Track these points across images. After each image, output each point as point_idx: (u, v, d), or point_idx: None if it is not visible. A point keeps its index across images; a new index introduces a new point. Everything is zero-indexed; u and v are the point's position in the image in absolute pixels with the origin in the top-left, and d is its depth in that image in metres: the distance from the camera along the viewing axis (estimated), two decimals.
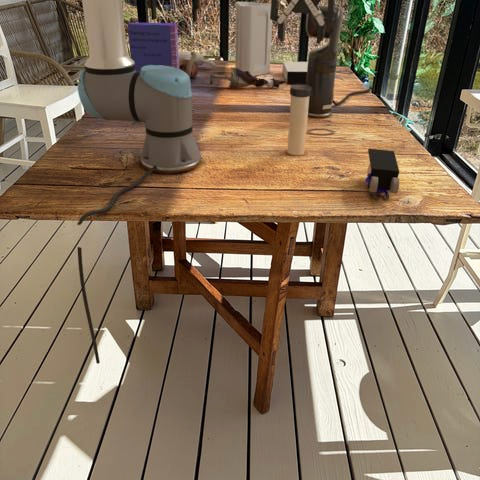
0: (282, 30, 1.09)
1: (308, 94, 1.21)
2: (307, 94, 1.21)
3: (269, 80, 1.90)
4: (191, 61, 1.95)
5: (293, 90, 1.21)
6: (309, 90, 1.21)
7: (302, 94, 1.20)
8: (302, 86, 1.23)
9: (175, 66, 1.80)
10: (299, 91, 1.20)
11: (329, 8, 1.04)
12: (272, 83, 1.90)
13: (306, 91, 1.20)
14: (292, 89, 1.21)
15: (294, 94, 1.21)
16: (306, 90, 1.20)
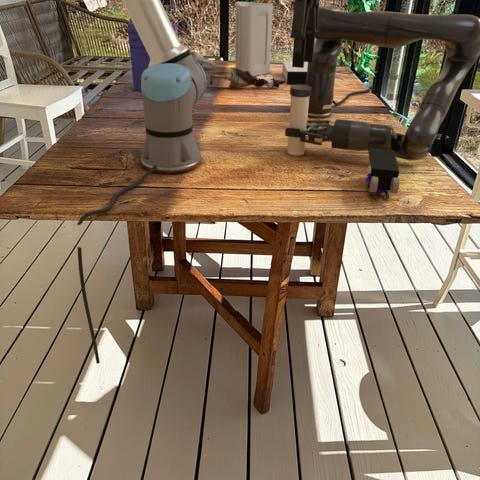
0: None
1: (308, 94, 1.21)
2: (307, 94, 1.21)
3: (269, 80, 1.90)
4: None
5: (293, 90, 1.21)
6: (309, 90, 1.21)
7: (302, 94, 1.20)
8: (302, 86, 1.23)
9: None
10: (299, 91, 1.20)
11: None
12: (272, 83, 1.90)
13: (306, 91, 1.20)
14: (292, 89, 1.21)
15: (294, 94, 1.21)
16: (306, 90, 1.20)
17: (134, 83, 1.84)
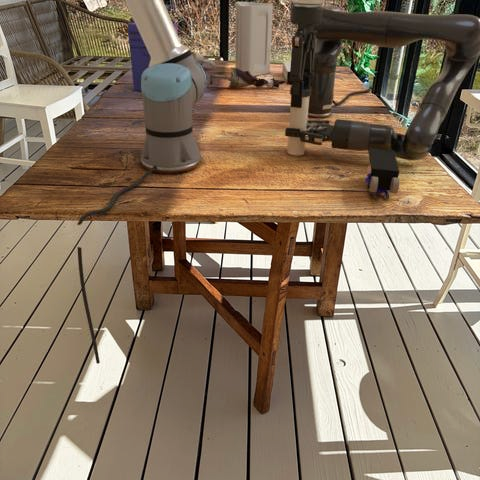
0: None
1: (308, 94, 1.21)
2: (307, 94, 1.21)
3: (269, 80, 1.90)
4: None
5: None
6: (309, 90, 1.21)
7: None
8: None
9: None
10: None
11: None
12: (272, 83, 1.90)
13: (306, 91, 1.20)
14: None
15: None
16: (306, 90, 1.20)
17: (134, 83, 1.84)
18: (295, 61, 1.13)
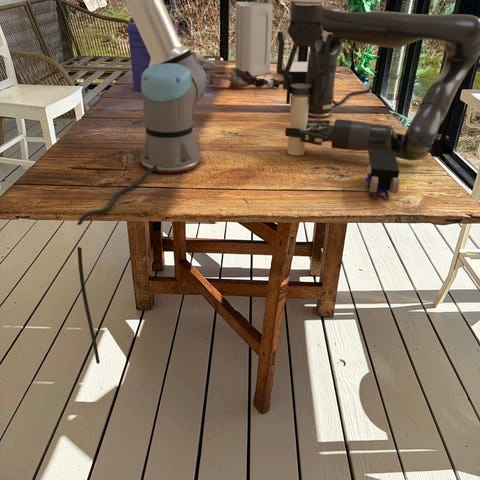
0: None
1: None
2: None
3: (269, 80, 1.90)
4: None
5: (310, 89, 1.21)
6: None
7: None
8: (297, 85, 1.22)
9: None
10: None
11: None
12: (272, 83, 1.90)
13: None
14: (309, 89, 1.20)
15: (310, 92, 1.21)
16: None
17: (134, 83, 1.84)
18: (328, 56, 1.17)
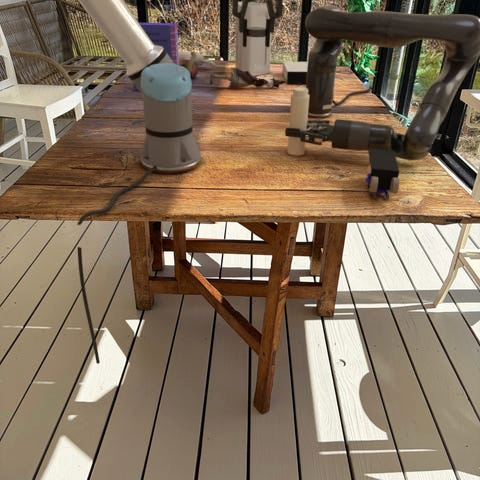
0: None
1: None
2: None
3: (269, 80, 1.90)
4: (191, 61, 1.95)
5: (266, 30, 1.23)
6: None
7: None
8: (253, 28, 1.24)
9: None
10: None
11: None
12: (272, 83, 1.90)
13: None
14: (265, 30, 1.23)
15: (266, 34, 1.24)
16: None
17: None
18: None
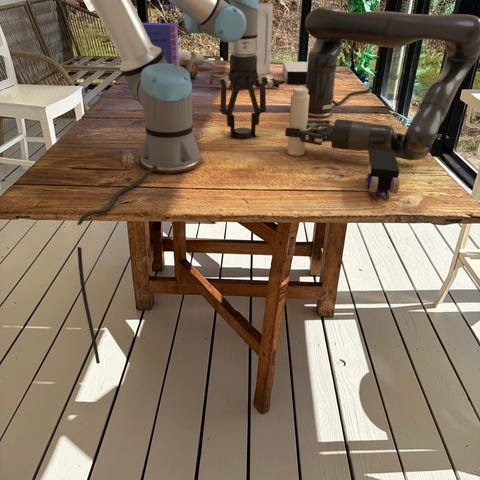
0: None
1: None
2: None
3: (269, 80, 1.90)
4: (191, 61, 1.95)
5: (251, 132, 1.41)
6: None
7: None
8: (239, 130, 1.41)
9: None
10: None
11: None
12: (272, 83, 1.90)
13: None
14: (250, 132, 1.40)
15: (251, 135, 1.42)
16: None
17: None
18: None
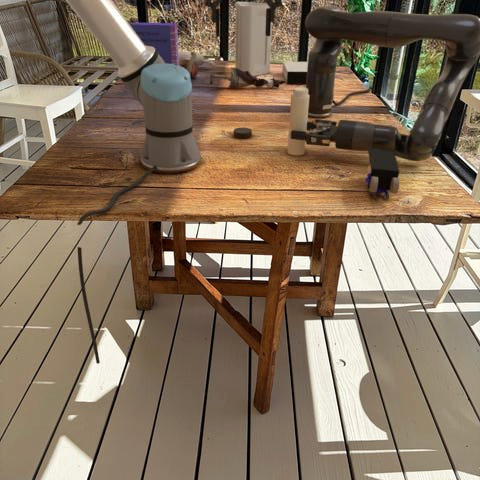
0: None
1: None
2: None
3: (269, 80, 1.90)
4: (191, 61, 1.95)
5: (251, 132, 1.41)
6: None
7: None
8: (239, 130, 1.41)
9: None
10: None
11: None
12: (272, 83, 1.90)
13: None
14: (250, 132, 1.40)
15: (251, 135, 1.42)
16: None
17: None
18: None
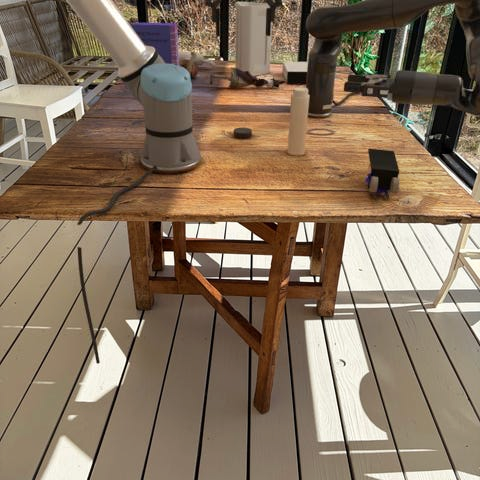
0: None
1: None
2: None
3: (269, 80, 1.90)
4: (191, 61, 1.95)
5: (251, 132, 1.41)
6: None
7: None
8: (239, 130, 1.41)
9: None
10: None
11: None
12: (272, 83, 1.90)
13: None
14: (250, 132, 1.40)
15: (251, 135, 1.42)
16: None
17: None
18: None
